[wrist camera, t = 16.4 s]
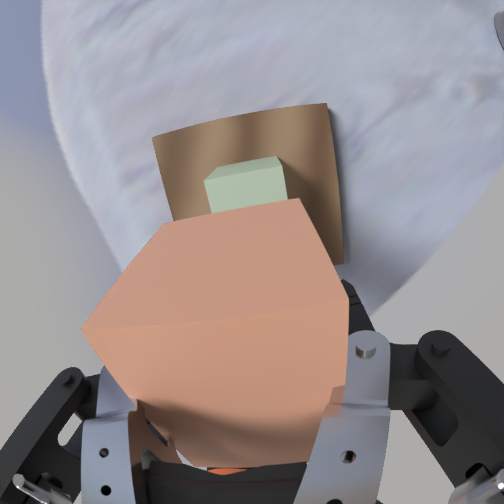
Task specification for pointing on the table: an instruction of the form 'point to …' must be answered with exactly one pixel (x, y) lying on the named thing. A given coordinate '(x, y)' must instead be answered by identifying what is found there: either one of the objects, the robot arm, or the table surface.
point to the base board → (256, 147)
